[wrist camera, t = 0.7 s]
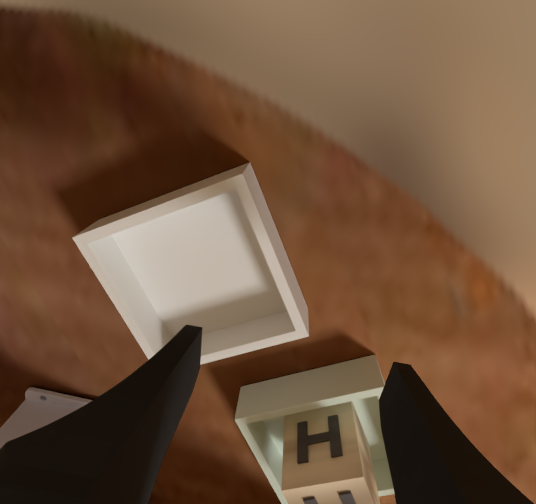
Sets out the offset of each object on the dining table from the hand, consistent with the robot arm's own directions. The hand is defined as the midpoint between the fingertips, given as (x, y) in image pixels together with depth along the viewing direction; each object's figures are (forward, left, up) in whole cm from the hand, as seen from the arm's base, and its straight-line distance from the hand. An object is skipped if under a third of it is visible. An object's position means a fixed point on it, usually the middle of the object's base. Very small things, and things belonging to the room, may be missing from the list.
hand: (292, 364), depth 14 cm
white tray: (-5, -2, -10) cm, 11 cm away
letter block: (+6, -13, -9) cm, 17 cm away
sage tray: (+6, -13, -10) cm, 17 cm away
